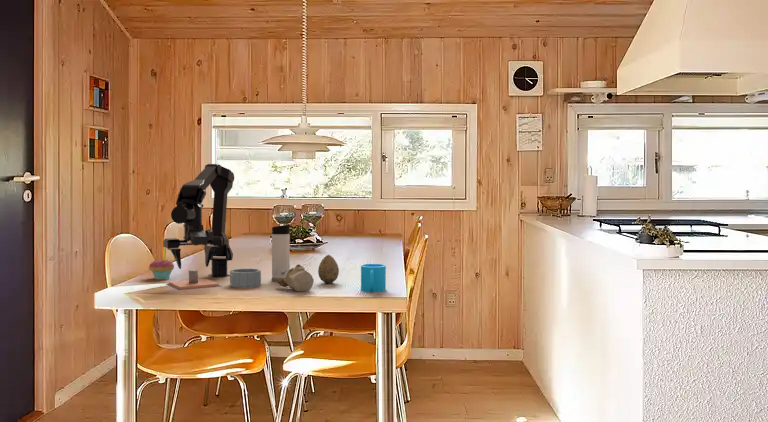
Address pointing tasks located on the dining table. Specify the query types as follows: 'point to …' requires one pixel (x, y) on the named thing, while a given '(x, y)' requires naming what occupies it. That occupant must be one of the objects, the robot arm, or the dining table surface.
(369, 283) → the mug
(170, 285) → the mat
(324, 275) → the decorative egg
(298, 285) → the ceramic sculpture
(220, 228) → the robot arm
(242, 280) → the bowl
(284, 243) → the travel mug
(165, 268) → the cupcake
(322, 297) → the dining table surface
